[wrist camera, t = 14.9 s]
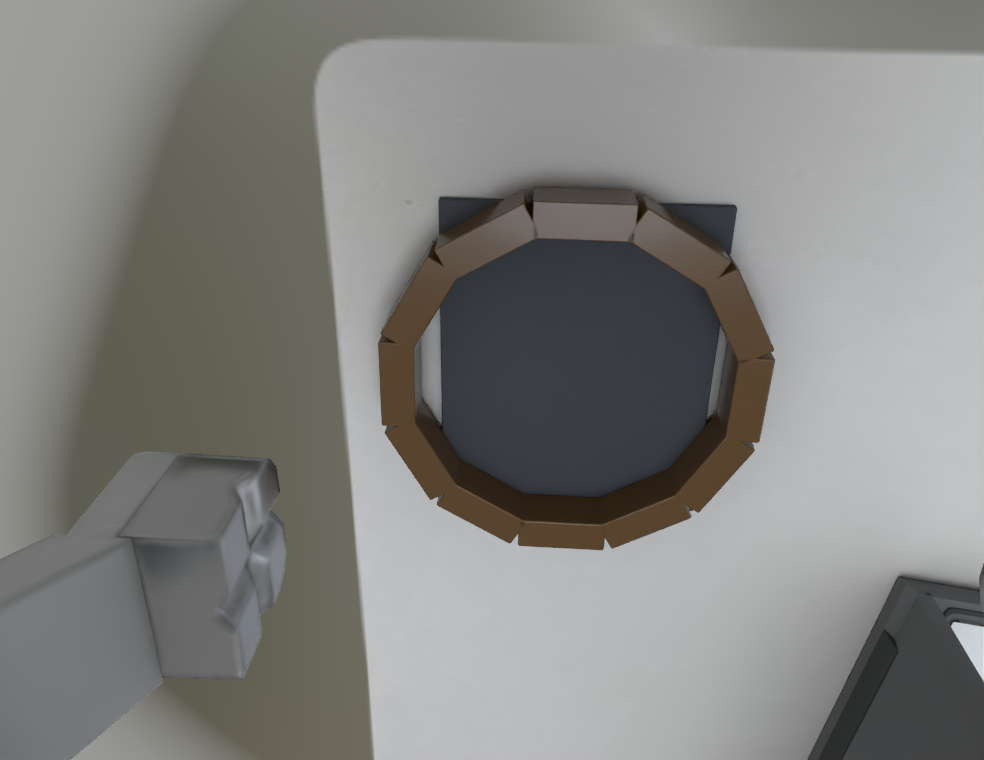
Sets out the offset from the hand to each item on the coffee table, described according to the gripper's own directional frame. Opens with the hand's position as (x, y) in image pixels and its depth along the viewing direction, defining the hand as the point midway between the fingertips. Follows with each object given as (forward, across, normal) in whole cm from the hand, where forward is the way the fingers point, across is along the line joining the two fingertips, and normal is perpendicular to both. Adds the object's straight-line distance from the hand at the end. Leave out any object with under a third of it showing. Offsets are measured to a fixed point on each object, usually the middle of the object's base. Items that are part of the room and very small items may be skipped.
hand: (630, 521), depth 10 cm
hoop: (+29, -1, +12) cm, 31 cm away
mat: (+29, -1, +12) cm, 31 cm away
